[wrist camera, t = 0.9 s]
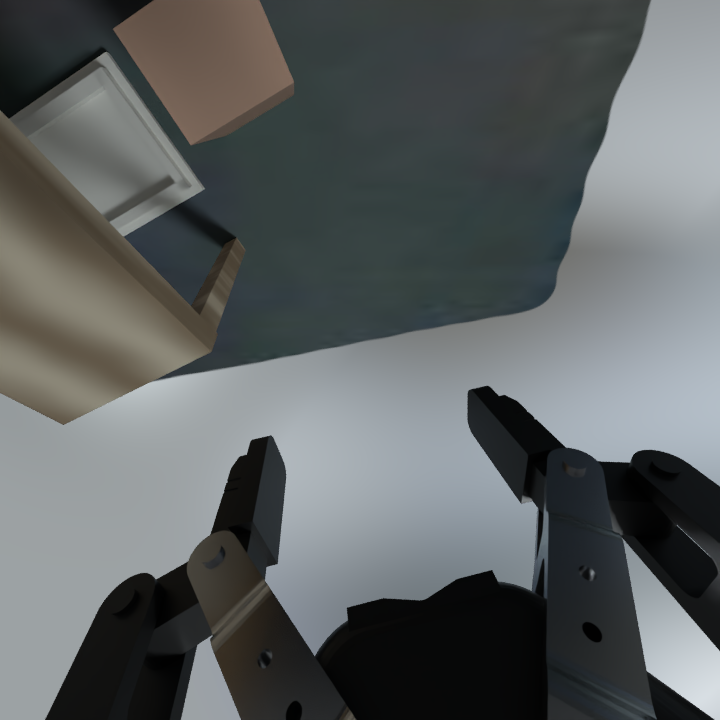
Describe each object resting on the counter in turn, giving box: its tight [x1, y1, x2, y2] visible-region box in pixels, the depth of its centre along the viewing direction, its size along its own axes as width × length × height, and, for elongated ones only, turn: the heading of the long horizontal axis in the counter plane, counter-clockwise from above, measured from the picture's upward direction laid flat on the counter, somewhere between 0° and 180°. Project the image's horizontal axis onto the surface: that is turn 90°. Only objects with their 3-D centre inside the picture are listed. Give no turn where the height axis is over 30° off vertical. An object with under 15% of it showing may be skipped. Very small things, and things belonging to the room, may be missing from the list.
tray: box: [9, 52, 205, 236], centre depth 26 cm, size 12×10×2 cm
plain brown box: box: [113, 0, 294, 145], centre depth 20 cm, size 7×5×12 cm
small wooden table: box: [0, 110, 245, 425], centre depth 19 cm, size 12×23×19 cm, turn 24°
